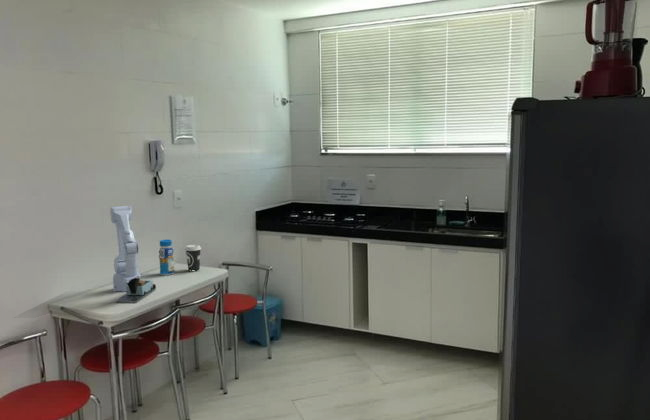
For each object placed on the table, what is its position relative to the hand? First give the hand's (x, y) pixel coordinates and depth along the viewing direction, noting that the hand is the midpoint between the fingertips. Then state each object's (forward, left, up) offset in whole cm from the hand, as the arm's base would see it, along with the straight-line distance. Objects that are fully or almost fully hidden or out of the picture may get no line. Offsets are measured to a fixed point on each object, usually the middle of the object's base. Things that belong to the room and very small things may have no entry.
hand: (133, 293), depth 255 cm
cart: (0, +7, -1) cm, 7 cm away
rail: (0, +4, -2) cm, 4 cm away
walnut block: (0, +7, 0) cm, 7 cm away
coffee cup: (+11, +57, -3) cm, 58 cm away
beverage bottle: (-2, +48, -3) cm, 48 cm away
